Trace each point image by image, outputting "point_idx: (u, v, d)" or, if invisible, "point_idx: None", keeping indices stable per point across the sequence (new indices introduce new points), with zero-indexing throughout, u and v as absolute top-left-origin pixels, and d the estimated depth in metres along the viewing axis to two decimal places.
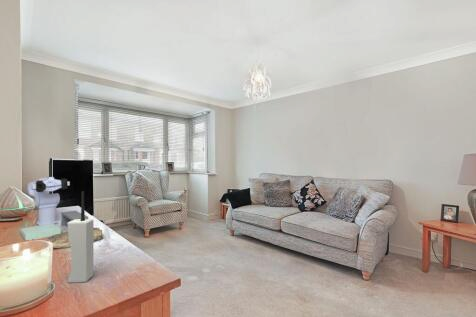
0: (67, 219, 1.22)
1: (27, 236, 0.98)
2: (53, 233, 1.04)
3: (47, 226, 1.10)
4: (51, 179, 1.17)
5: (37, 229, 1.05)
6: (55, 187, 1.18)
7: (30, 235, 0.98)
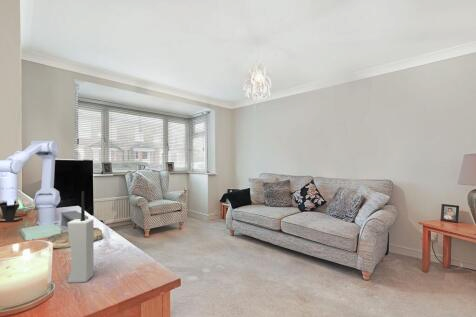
0: (67, 219, 1.22)
1: (27, 236, 0.98)
2: (53, 233, 1.04)
3: (47, 226, 1.10)
4: None
5: (37, 229, 1.05)
6: None
7: (30, 235, 0.98)
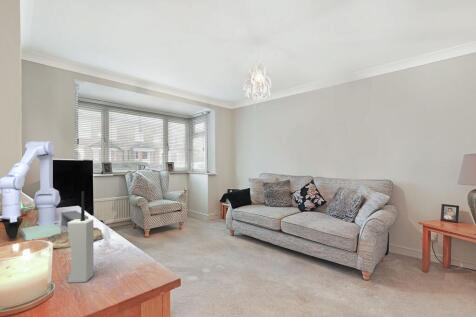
0: (67, 219, 1.22)
1: (27, 236, 0.98)
2: (53, 233, 1.04)
3: (47, 226, 1.10)
4: (2, 217, 0.97)
5: (37, 229, 1.05)
6: None
7: (30, 235, 0.98)
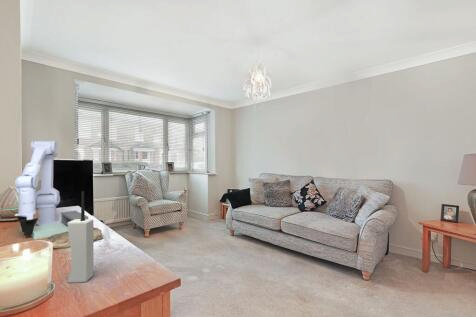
0: (67, 219, 1.22)
1: (35, 235, 1.00)
2: (60, 232, 1.06)
3: (54, 225, 1.11)
4: None
5: (45, 228, 1.07)
6: None
7: (38, 234, 1.00)
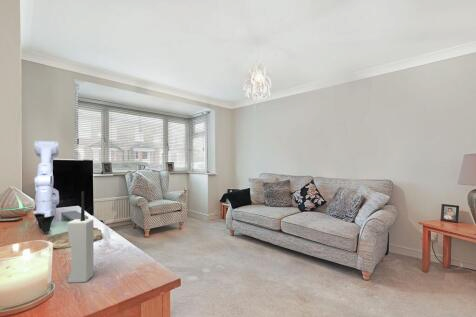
0: (67, 219, 1.22)
1: (53, 231, 1.04)
2: None
3: None
4: (36, 212, 1.05)
5: (60, 225, 1.11)
6: None
7: (55, 230, 1.05)
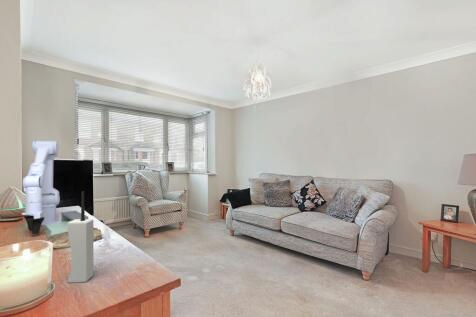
0: (67, 219, 1.22)
1: (52, 231, 1.04)
2: None
3: None
4: None
5: (60, 225, 1.11)
6: None
7: (55, 231, 1.04)
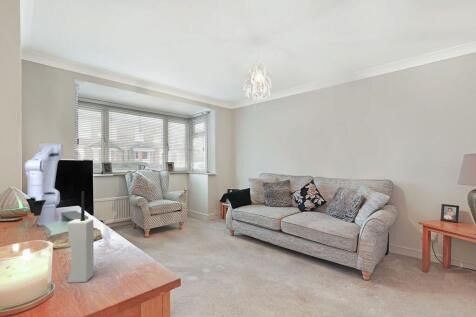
0: (67, 219, 1.22)
1: (52, 231, 1.04)
2: None
3: None
4: None
5: (60, 225, 1.11)
6: None
7: (55, 231, 1.04)
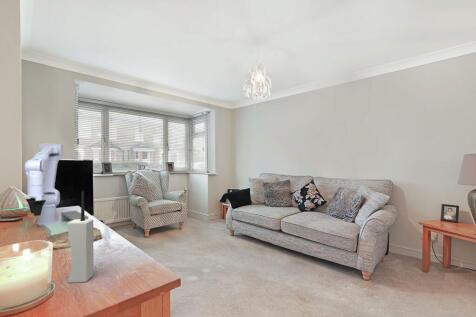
0: (67, 219, 1.22)
1: (52, 231, 1.04)
2: None
3: None
4: None
5: (60, 225, 1.11)
6: None
7: (55, 231, 1.04)
